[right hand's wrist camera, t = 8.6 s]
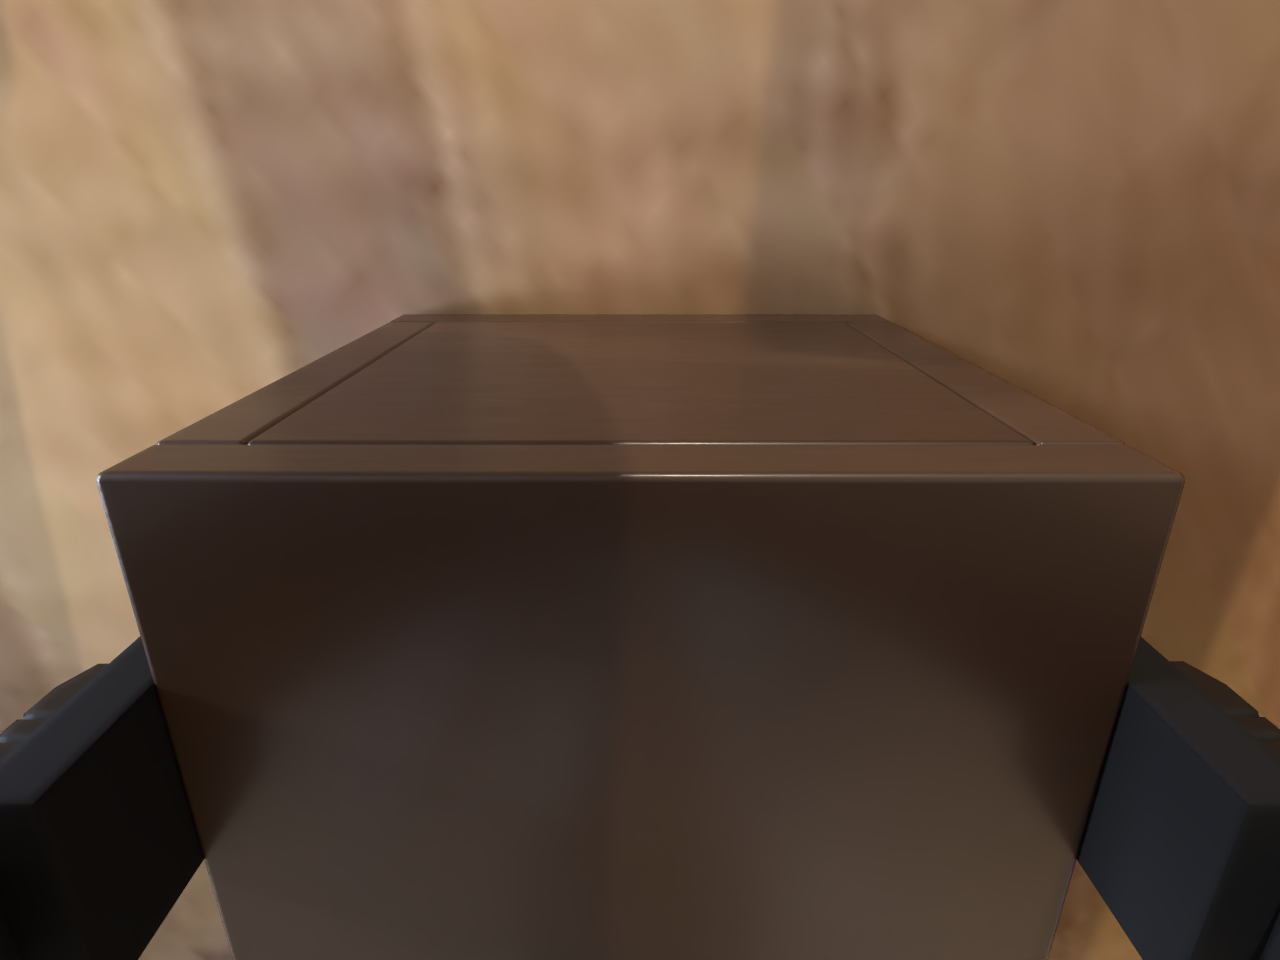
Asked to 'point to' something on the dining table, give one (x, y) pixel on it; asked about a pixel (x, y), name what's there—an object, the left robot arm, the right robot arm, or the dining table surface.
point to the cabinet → (640, 641)
